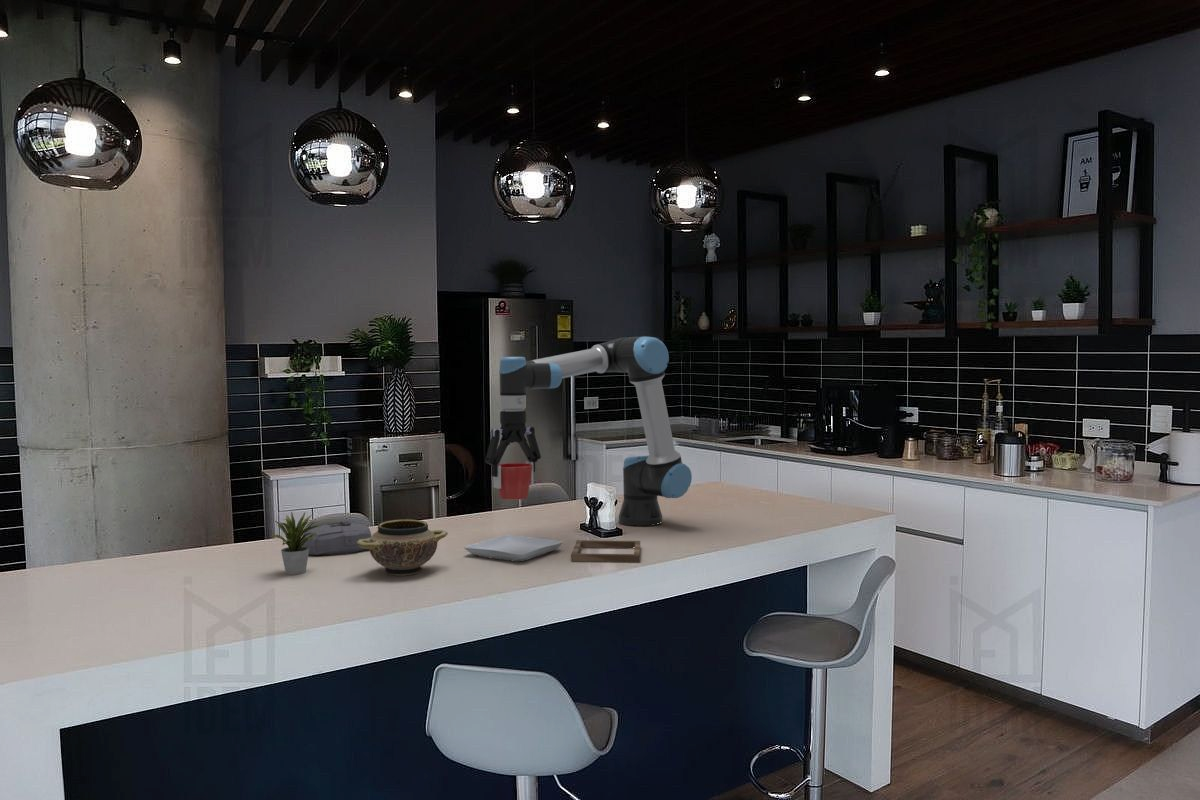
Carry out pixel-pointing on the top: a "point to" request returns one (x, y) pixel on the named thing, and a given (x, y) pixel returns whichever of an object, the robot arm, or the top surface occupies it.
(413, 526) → the ceramic bowl
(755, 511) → the top surface
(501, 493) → the flower pot
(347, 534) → the soft grey pack
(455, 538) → the top surface
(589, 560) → the holder frame
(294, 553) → the house plant
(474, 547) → the salad plate
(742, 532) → the top surface
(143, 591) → the top surface
